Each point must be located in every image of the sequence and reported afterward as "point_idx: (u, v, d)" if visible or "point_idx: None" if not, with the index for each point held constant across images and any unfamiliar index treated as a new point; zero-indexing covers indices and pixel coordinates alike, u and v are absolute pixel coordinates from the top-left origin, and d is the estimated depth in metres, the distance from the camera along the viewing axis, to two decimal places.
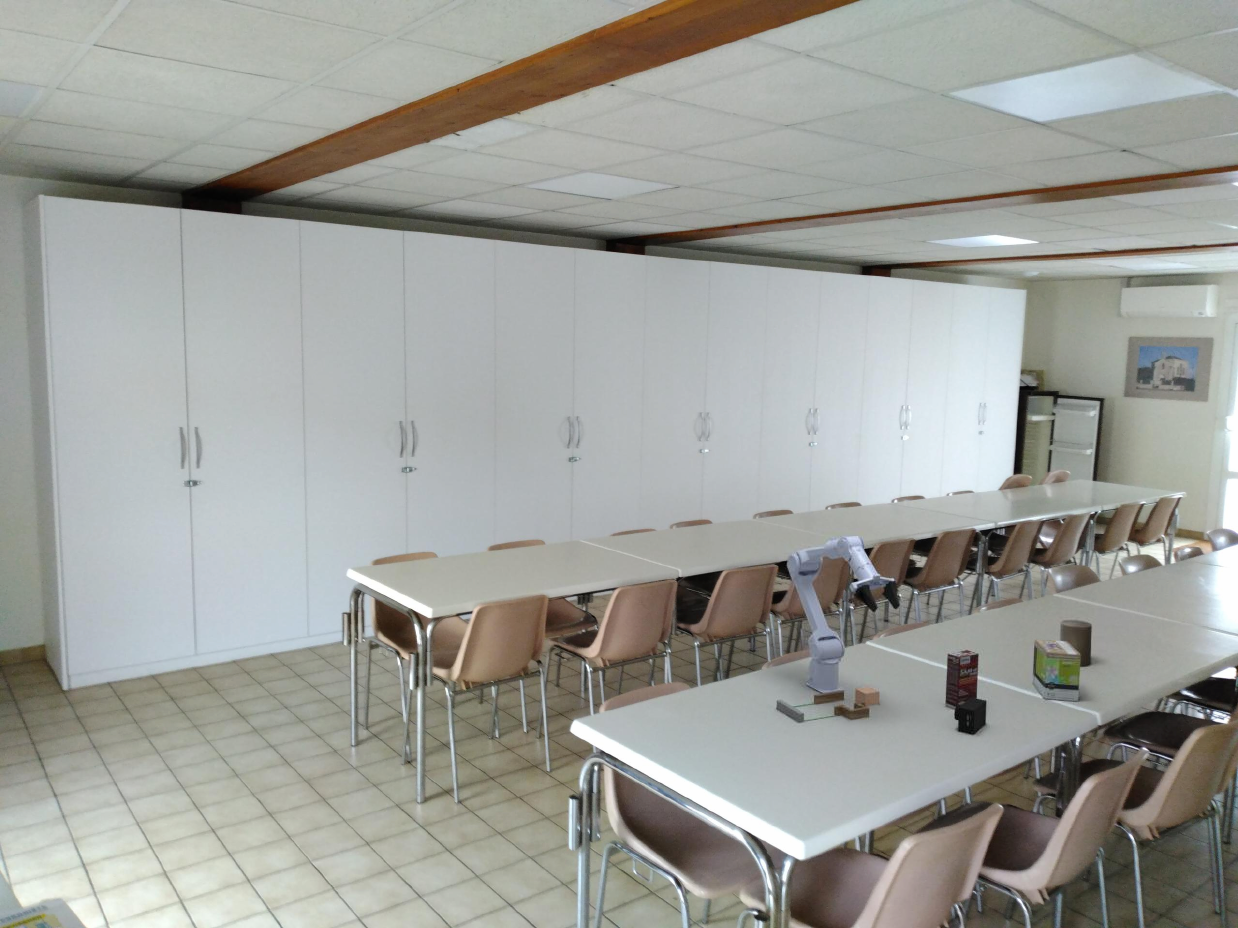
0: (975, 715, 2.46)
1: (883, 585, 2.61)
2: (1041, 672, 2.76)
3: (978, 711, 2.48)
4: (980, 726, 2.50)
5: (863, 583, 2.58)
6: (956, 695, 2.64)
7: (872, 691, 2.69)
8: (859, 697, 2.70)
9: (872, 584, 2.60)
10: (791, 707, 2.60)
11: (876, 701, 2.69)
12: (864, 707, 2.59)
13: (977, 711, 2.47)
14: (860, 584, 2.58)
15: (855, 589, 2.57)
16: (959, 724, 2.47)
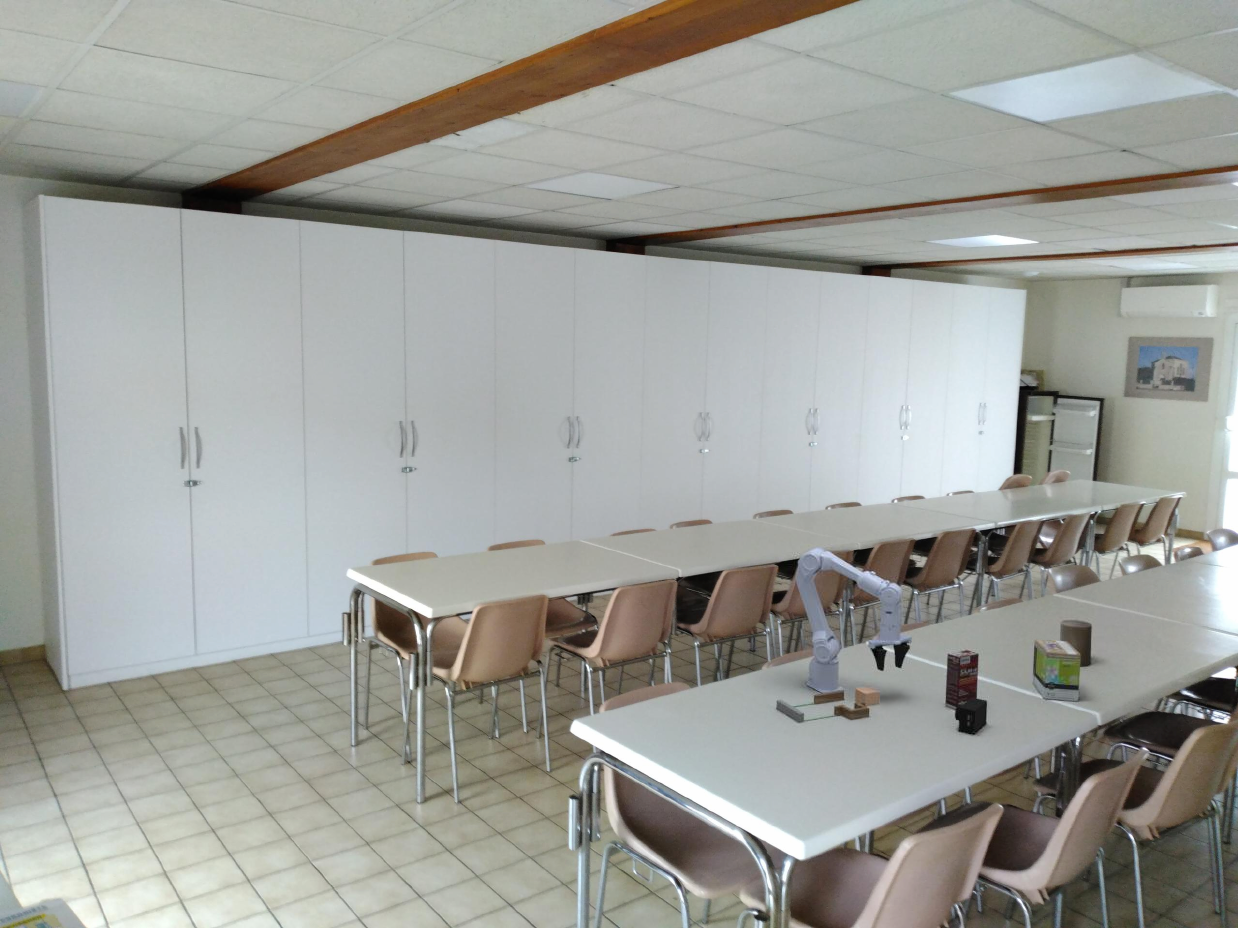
0: (976, 715, 2.46)
1: None
2: (1041, 672, 2.76)
3: (979, 711, 2.47)
4: (981, 726, 2.49)
5: None
6: (956, 695, 2.64)
7: (872, 691, 2.69)
8: (859, 697, 2.70)
9: None
10: (791, 707, 2.60)
11: (876, 701, 2.69)
12: (864, 707, 2.59)
13: (978, 711, 2.47)
14: None
15: None
16: (960, 724, 2.47)
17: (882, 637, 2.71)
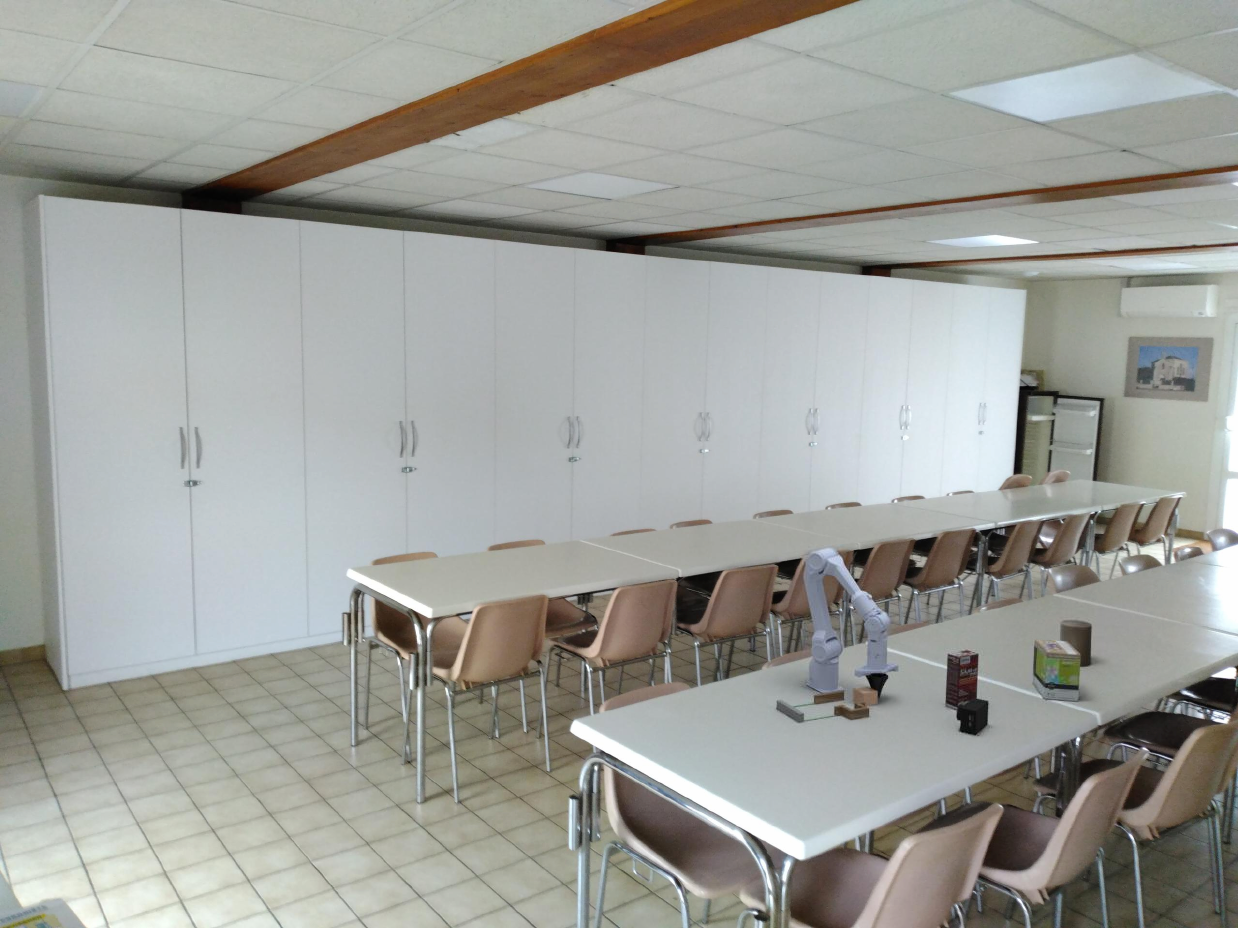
0: (977, 715, 2.45)
1: None
2: (1041, 672, 2.76)
3: (980, 711, 2.47)
4: (982, 726, 2.49)
5: None
6: (956, 695, 2.64)
7: (870, 691, 2.69)
8: (857, 697, 2.70)
9: None
10: (791, 707, 2.60)
11: (874, 701, 2.69)
12: (864, 707, 2.59)
13: (979, 711, 2.47)
14: None
15: None
16: (961, 724, 2.47)
17: (869, 666, 2.70)
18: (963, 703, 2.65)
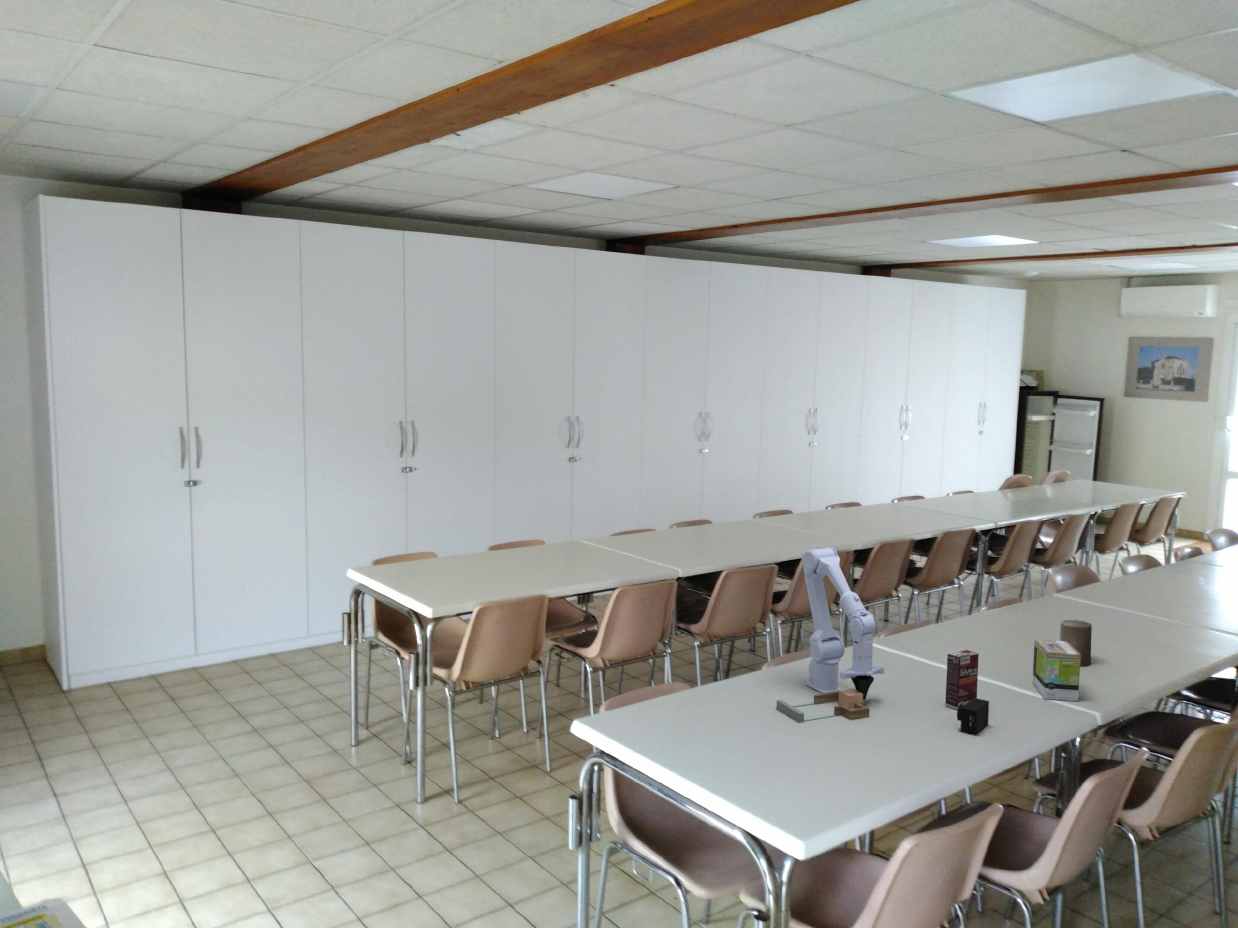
0: (978, 715, 2.45)
1: None
2: (1041, 672, 2.76)
3: (981, 711, 2.47)
4: (983, 727, 2.49)
5: None
6: (956, 695, 2.64)
7: (855, 693, 2.67)
8: (842, 699, 2.68)
9: None
10: (791, 707, 2.60)
11: None
12: (864, 707, 2.59)
13: (980, 711, 2.46)
14: None
15: None
16: (962, 725, 2.47)
17: (854, 668, 2.68)
18: (963, 703, 2.65)
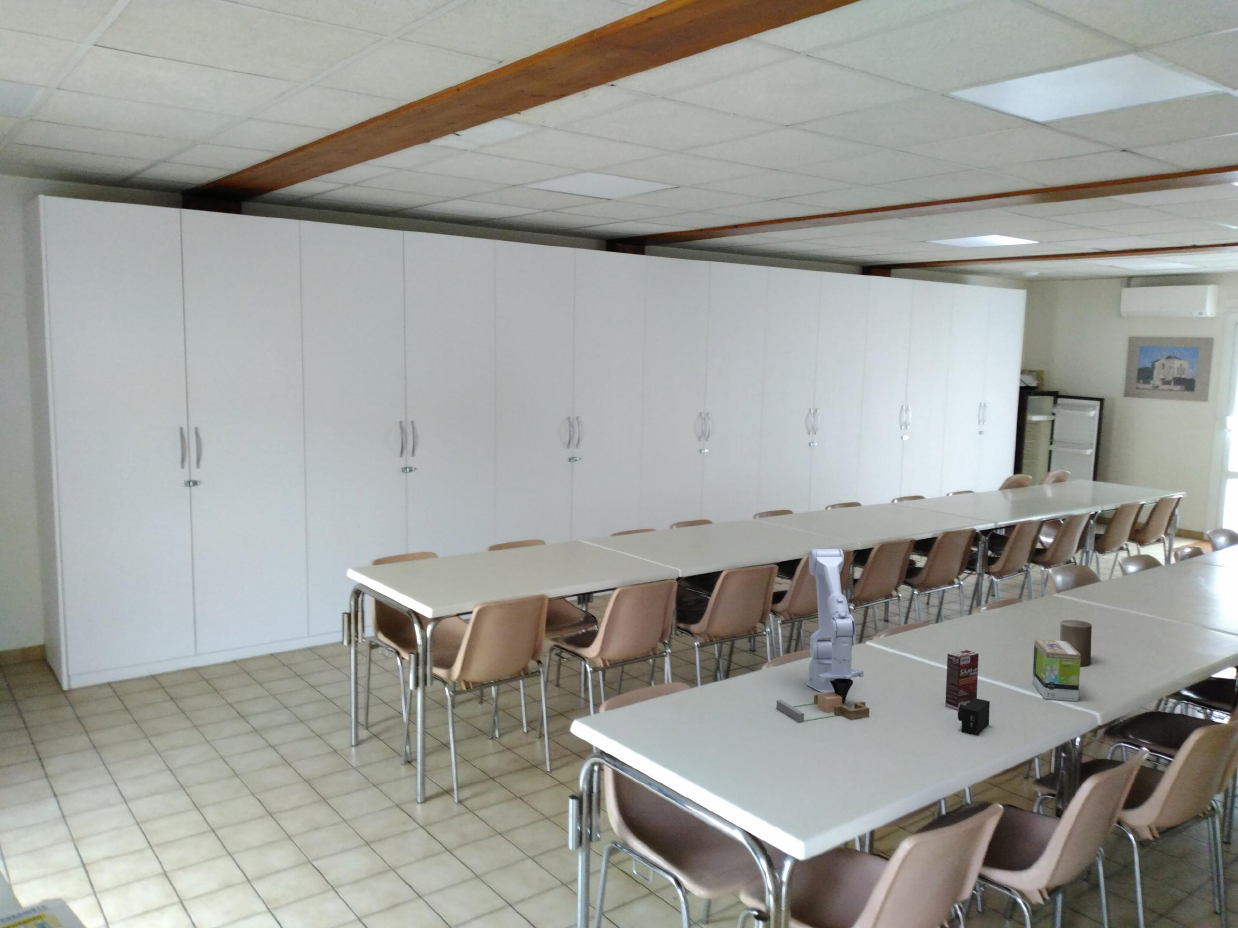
0: (979, 716, 2.45)
1: None
2: (1041, 672, 2.76)
3: (981, 711, 2.47)
4: (983, 727, 2.49)
5: None
6: (956, 695, 2.64)
7: (834, 696, 2.64)
8: (821, 702, 2.65)
9: None
10: (791, 707, 2.60)
11: None
12: (864, 707, 2.59)
13: (980, 712, 2.46)
14: None
15: None
16: (962, 725, 2.47)
17: (833, 671, 2.65)
18: (963, 703, 2.65)
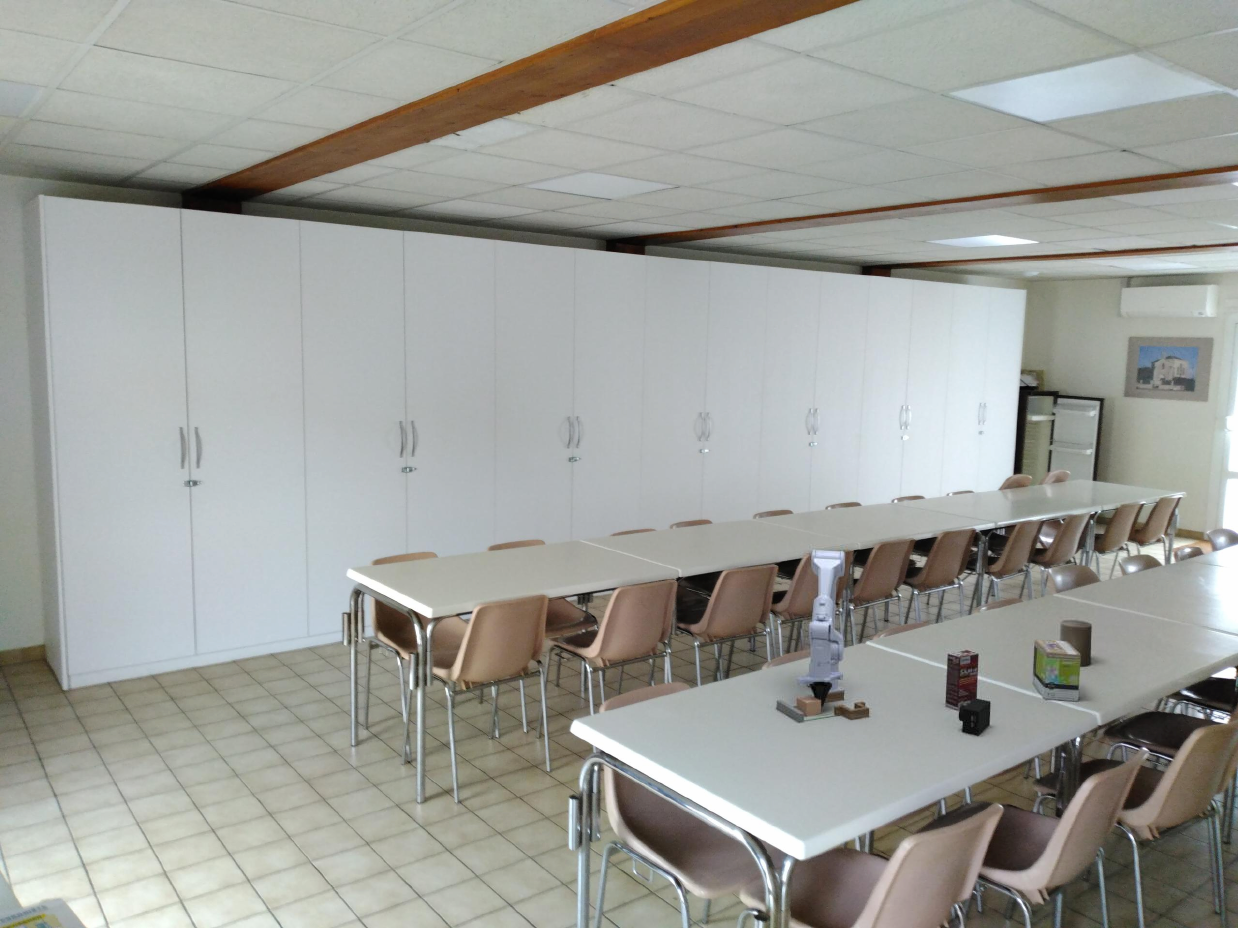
0: (979, 716, 2.45)
1: None
2: (1041, 672, 2.76)
3: (982, 712, 2.47)
4: (984, 727, 2.49)
5: None
6: (956, 695, 2.64)
7: (813, 700, 2.61)
8: (800, 706, 2.62)
9: None
10: (791, 707, 2.60)
11: (818, 710, 2.61)
12: (864, 707, 2.59)
13: (981, 712, 2.46)
14: None
15: None
16: (963, 725, 2.47)
17: (812, 674, 2.62)
18: (963, 703, 2.65)
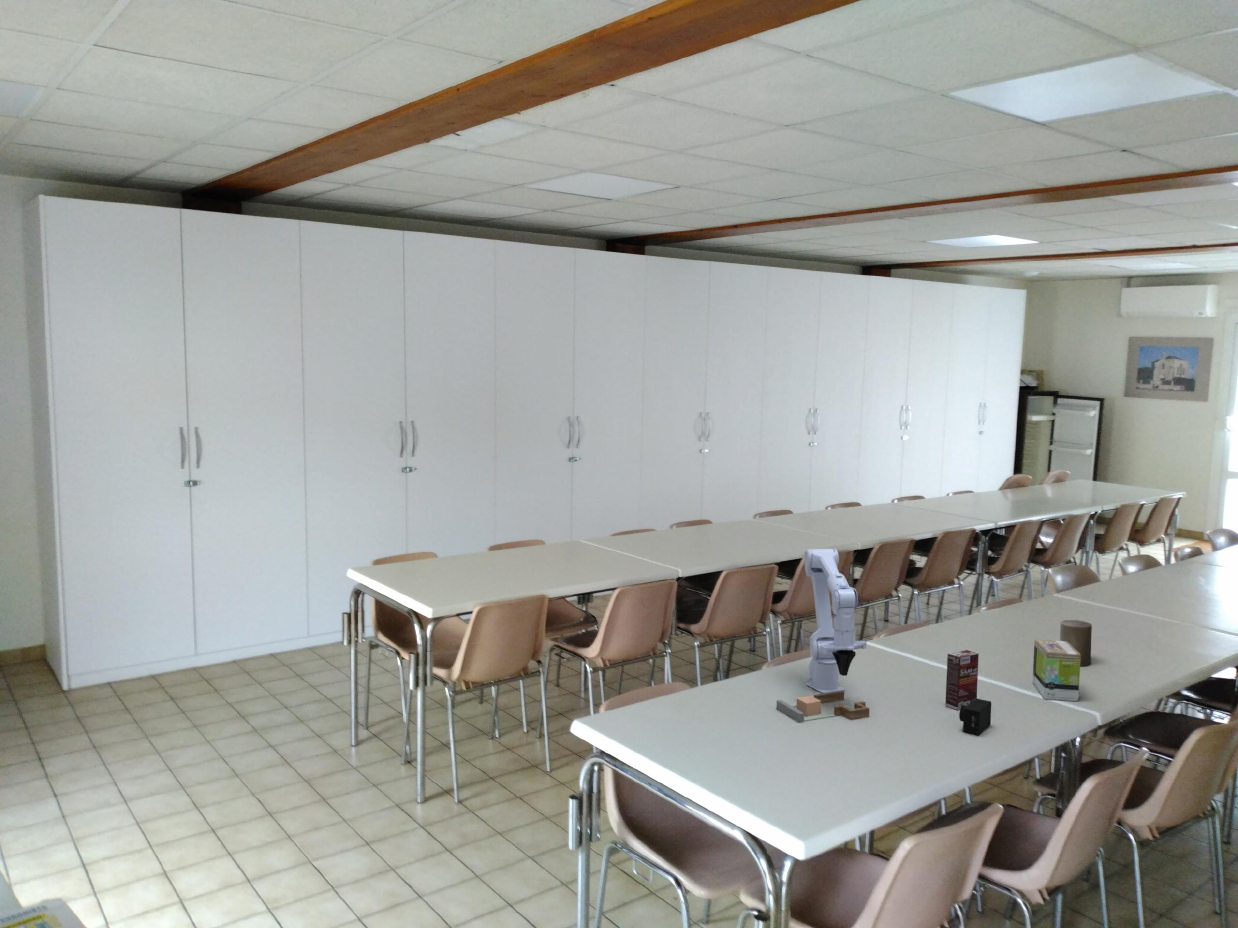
0: (980, 716, 2.45)
1: None
2: (1041, 672, 2.76)
3: (983, 712, 2.47)
4: (985, 727, 2.49)
5: None
6: (956, 695, 2.64)
7: (813, 700, 2.61)
8: (800, 707, 2.62)
9: None
10: (791, 707, 2.60)
11: (818, 711, 2.61)
12: (864, 707, 2.59)
13: (982, 712, 2.46)
14: None
15: None
16: (964, 725, 2.47)
17: (835, 642, 2.64)
18: (963, 703, 2.65)
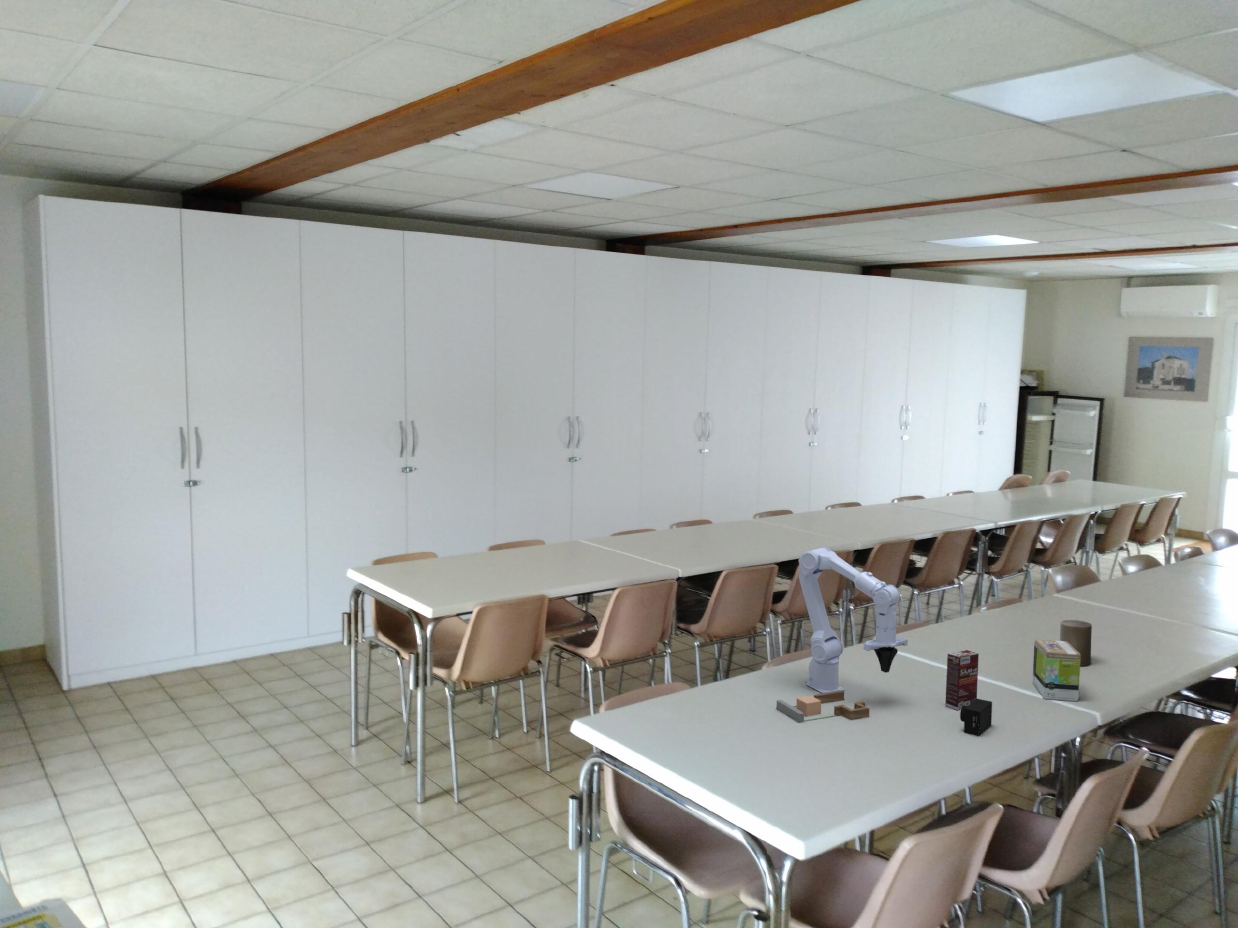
0: (981, 716, 2.45)
1: None
2: (1041, 672, 2.76)
3: (984, 712, 2.47)
4: (986, 727, 2.49)
5: None
6: (956, 695, 2.64)
7: (813, 700, 2.61)
8: (800, 707, 2.62)
9: None
10: (791, 707, 2.60)
11: (818, 711, 2.61)
12: (864, 707, 2.59)
13: (983, 712, 2.46)
14: None
15: None
16: (965, 725, 2.46)
17: (878, 639, 2.67)
18: (963, 703, 2.65)
